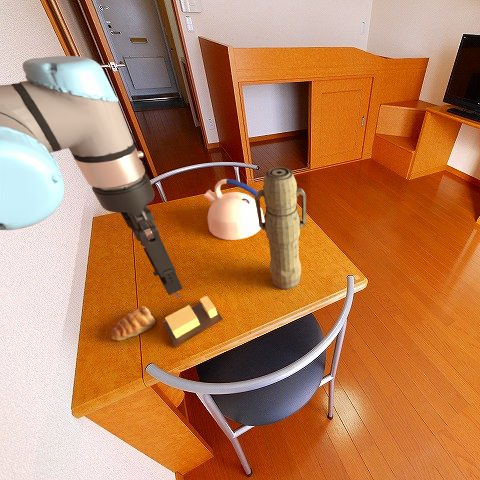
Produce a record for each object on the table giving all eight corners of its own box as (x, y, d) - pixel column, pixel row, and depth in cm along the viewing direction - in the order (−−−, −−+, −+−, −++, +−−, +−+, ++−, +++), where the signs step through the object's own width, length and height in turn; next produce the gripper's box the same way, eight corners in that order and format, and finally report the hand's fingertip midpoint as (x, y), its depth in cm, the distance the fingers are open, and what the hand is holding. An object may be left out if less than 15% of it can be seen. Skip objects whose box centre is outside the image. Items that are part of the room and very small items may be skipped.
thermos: (264, 271, 85) (249, 165, 62) (301, 264, 88) (300, 161, 65) (268, 293, 78) (253, 184, 56) (308, 285, 81) (309, 178, 58)
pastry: (119, 349, 64) (111, 341, 62) (108, 332, 68) (100, 323, 65) (159, 323, 70) (153, 314, 68) (147, 308, 73) (141, 299, 71)
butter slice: (210, 318, 70) (207, 311, 69) (202, 306, 73) (199, 299, 71) (217, 314, 72) (215, 307, 70) (209, 302, 74) (206, 295, 72)
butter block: (176, 338, 66) (172, 331, 64) (168, 324, 69) (164, 317, 67) (200, 324, 69) (197, 317, 67) (192, 311, 72) (189, 304, 70)
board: (175, 347, 65) (174, 345, 65) (164, 324, 70) (162, 322, 69) (222, 319, 72) (221, 317, 71) (209, 300, 76) (208, 298, 75)
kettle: (223, 204, 112) (214, 163, 100) (272, 212, 109) (268, 170, 97) (197, 235, 97) (182, 190, 85) (252, 244, 94) (245, 199, 82)
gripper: (167, 198, 38) (206, 300, 53) (129, 151, 49) (170, 246, 64) (105, 218, 34) (166, 322, 49) (78, 162, 45) (134, 261, 60)
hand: (168, 279), depth 57 cm, fingers closed on cutter, 7 cm apart
